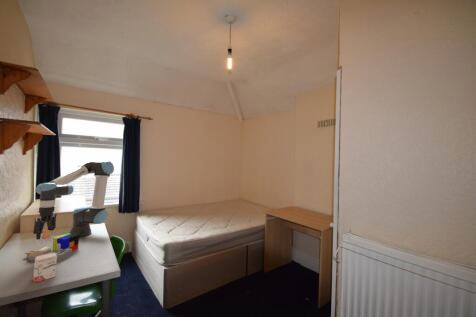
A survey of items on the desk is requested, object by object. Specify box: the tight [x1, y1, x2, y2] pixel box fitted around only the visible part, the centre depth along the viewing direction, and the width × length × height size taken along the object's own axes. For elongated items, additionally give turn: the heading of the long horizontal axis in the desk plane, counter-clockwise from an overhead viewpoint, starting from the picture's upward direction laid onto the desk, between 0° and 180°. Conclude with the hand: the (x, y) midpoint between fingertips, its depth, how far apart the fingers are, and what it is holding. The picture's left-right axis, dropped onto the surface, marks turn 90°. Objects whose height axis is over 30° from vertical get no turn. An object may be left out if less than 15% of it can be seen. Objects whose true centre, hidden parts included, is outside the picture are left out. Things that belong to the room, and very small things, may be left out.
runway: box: [27, 246, 73, 263], centre depth 134 cm, size 10×20×6 cm, turn 91°
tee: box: [24, 250, 36, 259], centre depth 134 cm, size 4×4×3 cm
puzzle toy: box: [51, 232, 80, 252], centre depth 145 cm, size 10×10×10 cm
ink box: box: [32, 253, 58, 283], centre depth 111 cm, size 9×5×12 cm, turn 139°
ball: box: [41, 228, 51, 240], centre depth 134 cm, size 6×6×6 cm
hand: (43, 242), depth 134 cm, fingers closed on ball, 6 cm apart
